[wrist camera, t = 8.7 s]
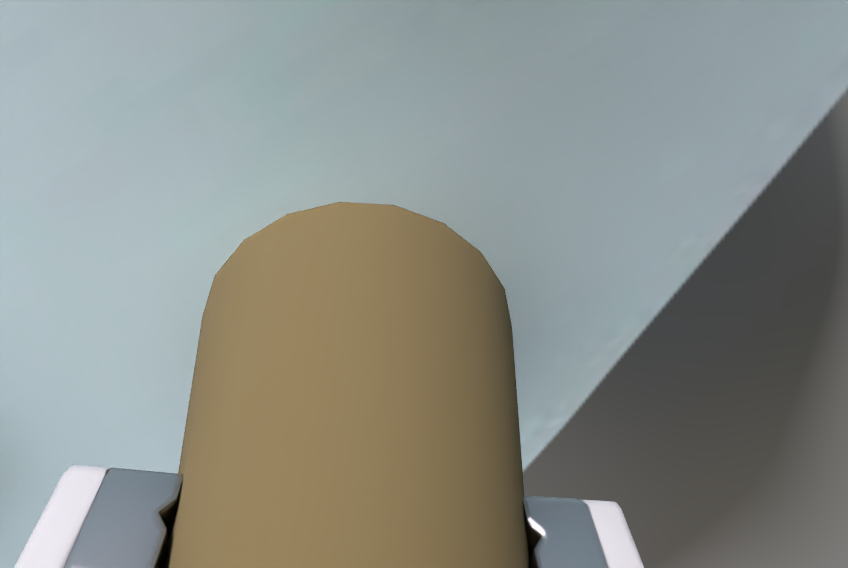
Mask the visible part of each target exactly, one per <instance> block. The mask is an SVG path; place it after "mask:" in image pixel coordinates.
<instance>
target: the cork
mask: <svg viewBox="0 0 848 568" xmlns="http://www.w3.org/2000/svg"><path fill="white" fill-rule="evenodd" d="M178 474H183V483H182V488H181V493H180V498H179V503H178V508H177V512H176V515H175V518H174V522H173V525H172V529H171V532H170V536H169V539H168V556H167V561H166V566H165V568H529V555H528V542H527V536H526V529H525V521H524V511H523V496H524V487H523V473H522V459H521V445H520V432H519V418H518V404H517V390H516V377H515V363H514V349H513V335H512V325H511V320H510V315H509V310H508V304H507V299H506V294H505V289H504V287H503V286H502V284H501V283H500V281H499V279H498V278H497V276H496V275H495V273H494V272H493V270H492V268H491V267H490V265H489V264H488V262H487V261H486V259H485V257H484V256H483V254H482V253H481V252H480V251H479V250H478V249H476V248H475V247H474V246H472V245H471V244H470V243H468V242H467V241H466V240H465V239H463V238H462V237H461V236H459V235H458V234H457V233H456V232H454V231H453V230H452V229H450V228H449V227H448V226H447V225H445V224H444V223H442V222H439V221H436V220H434V219H431V218H428V217H425V216H423V215H420V214H417V213H414V212H411V211H409V210H406V209H403V208H400V207H398V206H395V205H382V204H365V203H348V202H337V203H333V204H329V205H325V206H320V207H316V208H312V209H308V210H303V211H299V212H295V213H290V214H287V215H285V216H283V217H282V218H280V219H278V220H277V221H275V222H273V223H272V224H270V225H268V226H267V227H265V228H263V229H262V230H260V231H258V232H257V233H255V234H253V235H252V236H250V237H248V238H247V239H245V240H244V241H243V242H242V243H241V244H240V246H239V247H238V248H237V249H236V250H235V252H234V253H233V254H232V255H231V256H230V258H229V259H228V260H227V261H226V263H225V264H224V265H223V266H222V267H221V269H220V270H219V271H218V272H217V274H216V275H215V277H214V280H213V284H212V287H211V290H210V293H209V297H208V300H207V303H206V306H205V309H204V313H203V317H202V323H201V330H200V336H199V343H198V349H197V355H196V362H195V368H194V375H193V381H192V388H191V394H190V401H189V407H188V414H187V420H186V427H185V433H184V439H183V446H182V452H181V459H180V465H179V472H178Z"/></svg>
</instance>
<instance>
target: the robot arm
mask: <svg viewBox="0 0 848 568" xmlns="http://www.w3.org/2000/svg"><path fill="white" fill-rule="evenodd" d="M182 483H183V474H174V473H164V472H153V471H142V470H131V469H120V468H106V467H94V466H81V465H72V466H71V467H70V468H69V469H68V470H67V471H66V472H65V473H64V474H63V475H62V477H61V479H60V481H59V482H58V484H57V486H56V488H55V490H54V492H53V494H52V496H51V498H50V500H49V501H48V503H47V505H46V507H45V509H44V511H43V513H42V515H41V517H40V519H39V521H38V522H37V524H36V526H35V528H34V530H33V532H32V534H31V536H30V538H29V540H28V542H27V543H26V545H25V547H24V549H23V551H22V553H21V555H20V557H19V559H18V561H17V562H16V564H15V566H14V568H165V566H166V561H167V556H168V539H169V536H170V532H171V529H172V525H173V522H174V518H175V515H176V512H177V508H178V503H179V498H180V493H181V488H182ZM523 511H524V521H525V529H526V536H527V542H528V555H529V568H644V566H643V563H642V561H641V558H640V556H639V553H638V550H637V548H636V546H635V543H634V540H633V538H632V535H631V533H630V530H629V528H628V525H627V523H626V520H625V517H624V515H623V512H622V510H621V508H620V506H619V505H618V504H617V503H616V502H609V501H594V500H580V499H570V498H551V497H533V496H532V497H531V496H523Z"/></svg>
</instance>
